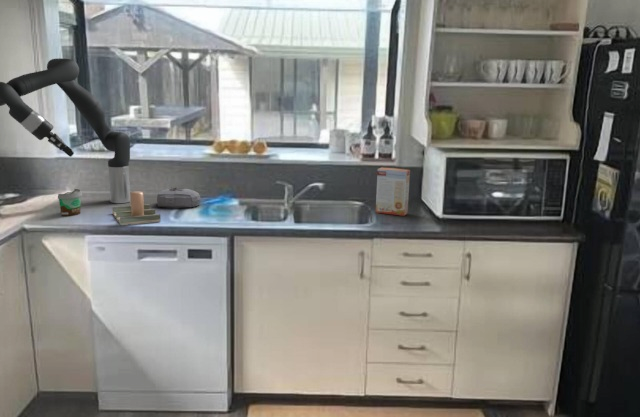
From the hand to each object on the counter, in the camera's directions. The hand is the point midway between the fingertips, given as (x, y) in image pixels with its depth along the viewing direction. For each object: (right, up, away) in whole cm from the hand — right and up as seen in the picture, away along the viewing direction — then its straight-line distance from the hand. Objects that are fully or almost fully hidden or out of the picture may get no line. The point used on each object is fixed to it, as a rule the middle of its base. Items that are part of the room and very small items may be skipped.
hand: (71, 153), depth 227 cm
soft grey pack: (+33, -21, +42) cm, 57 cm away
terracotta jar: (+22, -26, +13) cm, 37 cm away
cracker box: (+132, -24, +38) cm, 140 cm away
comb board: (+20, -26, +18) cm, 37 cm away
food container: (-8, -25, +21) cm, 33 cm away
